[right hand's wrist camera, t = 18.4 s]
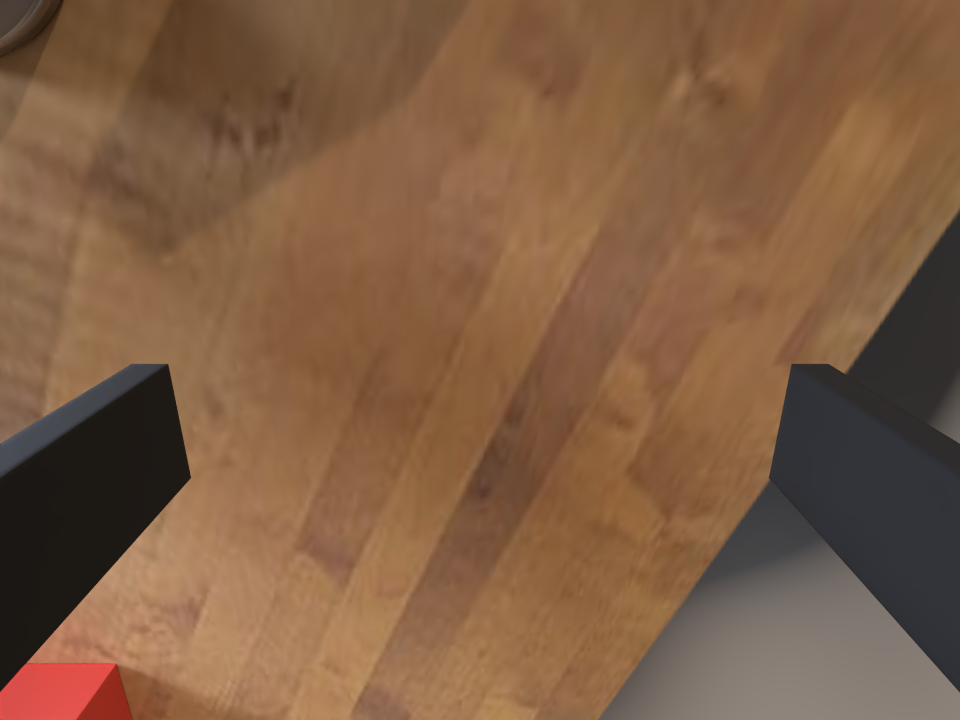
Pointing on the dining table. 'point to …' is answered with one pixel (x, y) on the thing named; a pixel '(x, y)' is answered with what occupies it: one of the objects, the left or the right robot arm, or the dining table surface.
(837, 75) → the dining table surface
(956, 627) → the right robot arm
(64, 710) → the block
